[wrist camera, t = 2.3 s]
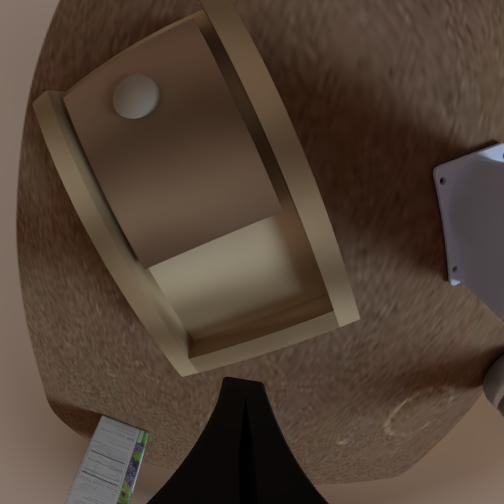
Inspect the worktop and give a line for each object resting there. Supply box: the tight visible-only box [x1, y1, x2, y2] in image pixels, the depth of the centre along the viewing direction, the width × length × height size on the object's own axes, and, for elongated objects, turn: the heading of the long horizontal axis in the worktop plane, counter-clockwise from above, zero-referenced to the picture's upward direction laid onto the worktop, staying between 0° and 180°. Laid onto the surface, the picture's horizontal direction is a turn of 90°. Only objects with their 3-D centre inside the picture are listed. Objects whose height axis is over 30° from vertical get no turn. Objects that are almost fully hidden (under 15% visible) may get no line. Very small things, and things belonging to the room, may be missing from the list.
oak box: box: [32, 0, 360, 377], centre depth 15 cm, size 18×11×5 cm, turn 23°
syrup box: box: [65, 415, 148, 504], centre depth 21 cm, size 6×6×14 cm
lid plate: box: [63, 18, 283, 269], centre depth 12 cm, size 10×7×2 cm
